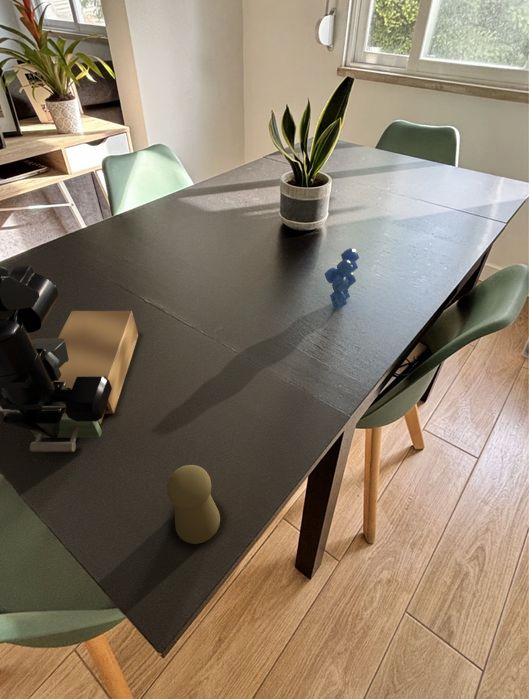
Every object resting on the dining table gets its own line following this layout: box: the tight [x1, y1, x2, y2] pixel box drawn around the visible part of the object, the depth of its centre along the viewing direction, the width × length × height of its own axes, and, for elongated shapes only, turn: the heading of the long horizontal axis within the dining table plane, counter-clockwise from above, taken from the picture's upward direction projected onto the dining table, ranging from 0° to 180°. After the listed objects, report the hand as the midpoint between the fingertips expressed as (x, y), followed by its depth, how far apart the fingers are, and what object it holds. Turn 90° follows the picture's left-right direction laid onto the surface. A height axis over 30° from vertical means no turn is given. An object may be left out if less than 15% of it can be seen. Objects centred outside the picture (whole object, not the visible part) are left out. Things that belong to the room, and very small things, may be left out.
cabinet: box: [55, 310, 139, 415], centre depth 75 cm, size 19×11×6 cm, turn 0°
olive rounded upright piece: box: [166, 464, 221, 545], centre depth 53 cm, size 6×6×11 cm
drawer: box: [29, 405, 107, 453], centre depth 69 cm, size 22×10×5 cm, turn 0°
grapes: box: [324, 247, 360, 310], centre depth 88 cm, size 12×7×12 cm, turn 158°
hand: (55, 434), depth 62 cm, fingers closed
